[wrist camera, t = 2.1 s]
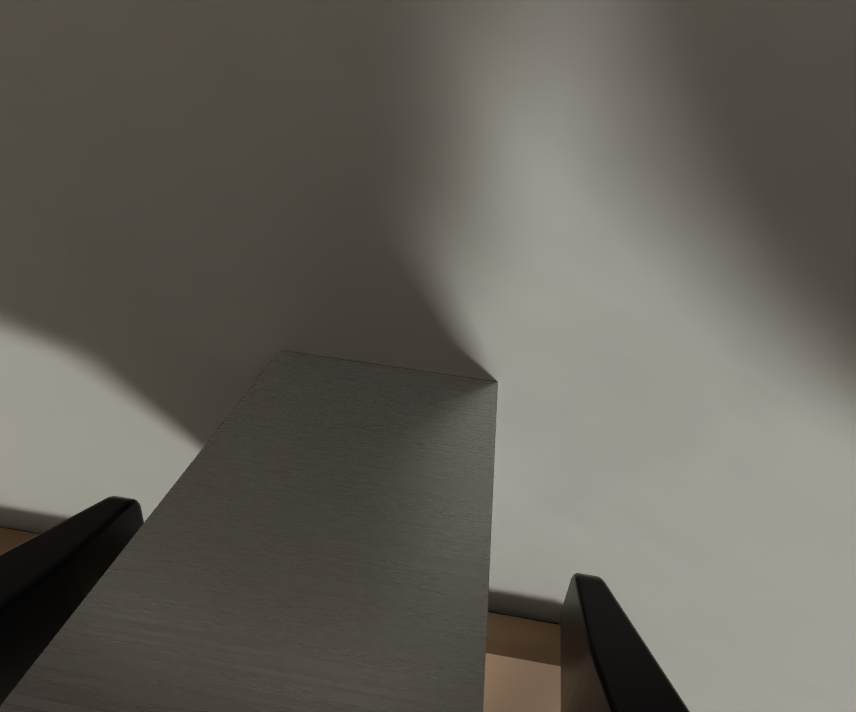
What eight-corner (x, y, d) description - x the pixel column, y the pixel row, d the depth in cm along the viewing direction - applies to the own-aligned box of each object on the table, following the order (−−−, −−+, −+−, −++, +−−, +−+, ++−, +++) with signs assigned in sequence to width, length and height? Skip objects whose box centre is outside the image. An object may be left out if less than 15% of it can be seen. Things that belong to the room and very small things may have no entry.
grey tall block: (497, 381, 10) (446, 1562, 2) (469, 543, 12) (387, 1482, 4) (279, 350, 10) (-459, 1290, 2) (286, 512, 12) (-120, 1334, 4)
